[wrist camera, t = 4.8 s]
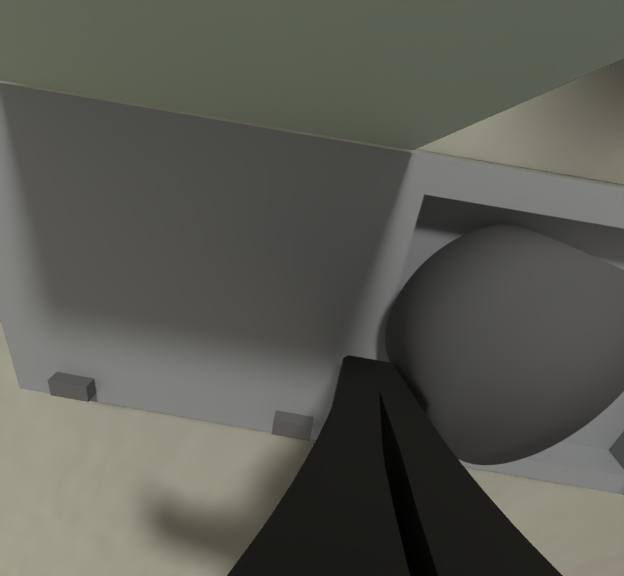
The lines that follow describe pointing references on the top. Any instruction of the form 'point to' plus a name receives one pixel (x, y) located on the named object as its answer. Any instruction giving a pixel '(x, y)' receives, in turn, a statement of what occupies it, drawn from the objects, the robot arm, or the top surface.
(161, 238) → the grey ball tray
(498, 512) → the robot arm
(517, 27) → the cover
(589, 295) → the dark grey pebble
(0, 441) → the top surface
